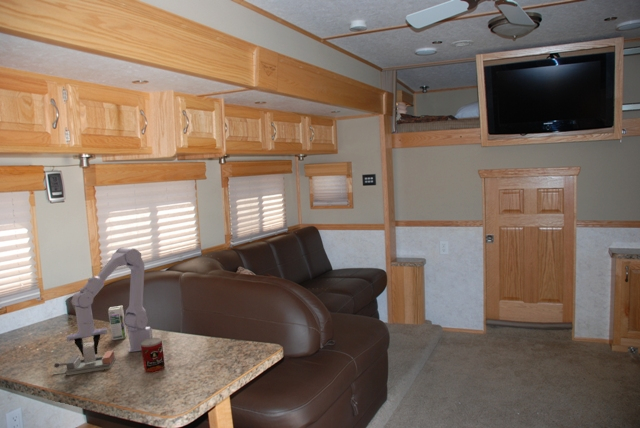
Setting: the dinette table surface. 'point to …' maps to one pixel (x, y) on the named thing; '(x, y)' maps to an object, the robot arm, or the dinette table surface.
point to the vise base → (84, 365)
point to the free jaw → (108, 357)
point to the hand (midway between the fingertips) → (90, 354)
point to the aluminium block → (89, 352)
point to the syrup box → (117, 322)
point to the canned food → (152, 355)
